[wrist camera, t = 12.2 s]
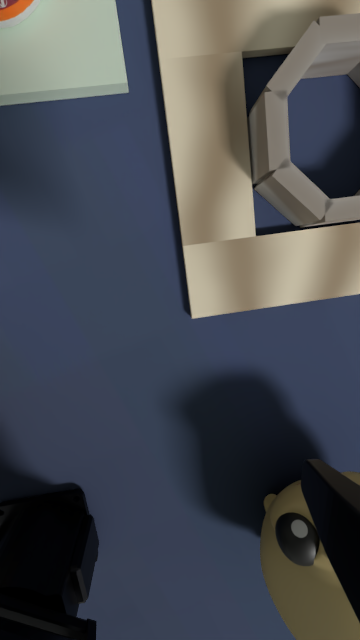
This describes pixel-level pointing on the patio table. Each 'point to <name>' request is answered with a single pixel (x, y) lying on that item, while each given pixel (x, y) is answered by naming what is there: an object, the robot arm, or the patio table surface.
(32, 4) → the pill bottle
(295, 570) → the beige toy figure
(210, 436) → the patio table surface
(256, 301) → the collar plate
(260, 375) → the patio table surface
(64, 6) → the green mat
